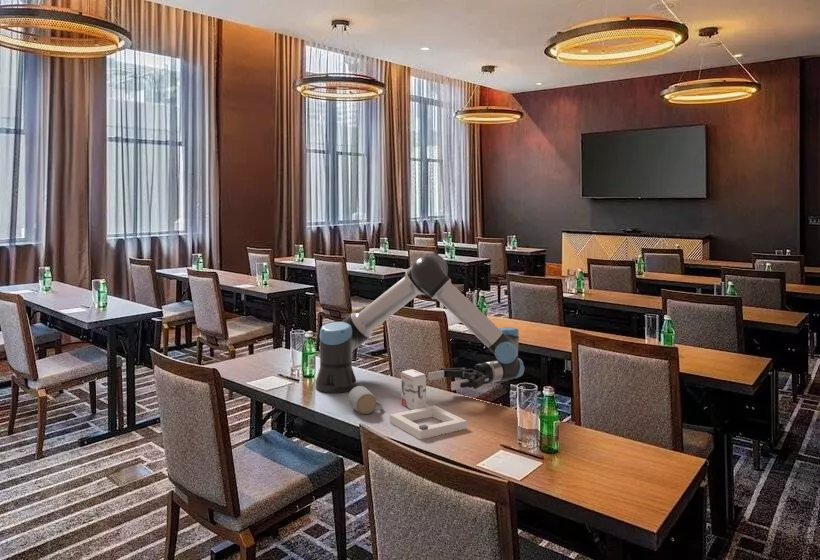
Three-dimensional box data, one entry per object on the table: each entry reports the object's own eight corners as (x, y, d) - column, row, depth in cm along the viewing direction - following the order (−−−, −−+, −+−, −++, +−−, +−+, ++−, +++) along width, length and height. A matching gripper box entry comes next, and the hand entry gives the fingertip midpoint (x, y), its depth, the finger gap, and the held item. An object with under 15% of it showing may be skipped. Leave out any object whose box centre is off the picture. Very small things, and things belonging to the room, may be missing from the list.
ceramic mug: (357, 417, 198) (357, 393, 197) (347, 409, 205) (347, 386, 204) (387, 412, 203) (387, 390, 202) (376, 405, 210) (377, 383, 209)
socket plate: (389, 422, 193) (389, 411, 193) (434, 412, 202) (434, 403, 202) (420, 439, 179) (420, 428, 179) (466, 428, 188) (466, 418, 188)
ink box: (400, 404, 210) (400, 370, 209) (412, 402, 213) (412, 368, 212) (414, 412, 203) (414, 376, 202) (427, 409, 206) (427, 374, 205)
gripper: (510, 391, 215) (461, 401, 203) (465, 375, 235) (419, 383, 224) (511, 370, 214) (462, 379, 202) (466, 355, 235) (419, 362, 223)
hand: (439, 381), depth 213 cm, fingers open, 13 cm apart
